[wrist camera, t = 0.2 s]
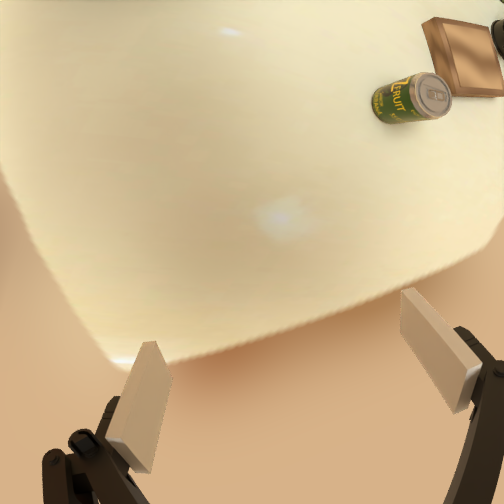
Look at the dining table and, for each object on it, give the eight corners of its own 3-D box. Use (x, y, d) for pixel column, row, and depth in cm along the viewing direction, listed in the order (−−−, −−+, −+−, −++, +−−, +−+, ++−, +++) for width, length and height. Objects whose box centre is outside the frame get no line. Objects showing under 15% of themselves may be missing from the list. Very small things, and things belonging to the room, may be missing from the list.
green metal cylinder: (402, 89, 37) (451, 75, 25) (404, 125, 38) (455, 122, 27) (368, 85, 37) (411, 66, 25) (371, 122, 38) (415, 115, 27)
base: (421, 24, 33) (435, 16, 29) (474, 32, 33) (488, 26, 29) (441, 96, 37) (457, 93, 33) (491, 97, 36) (507, 96, 32)
